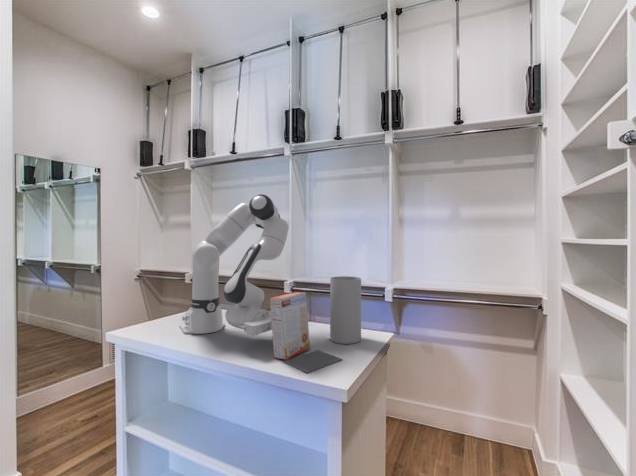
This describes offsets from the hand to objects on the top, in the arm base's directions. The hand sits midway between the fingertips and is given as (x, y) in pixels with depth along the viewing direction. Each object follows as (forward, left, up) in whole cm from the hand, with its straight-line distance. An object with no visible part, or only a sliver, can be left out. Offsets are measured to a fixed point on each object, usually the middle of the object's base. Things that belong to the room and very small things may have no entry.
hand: (284, 326), depth 118 cm
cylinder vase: (+6, +27, -9) cm, 29 cm away
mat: (+14, +2, -9) cm, 17 cm away
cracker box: (+4, +1, -9) cm, 10 cm away
